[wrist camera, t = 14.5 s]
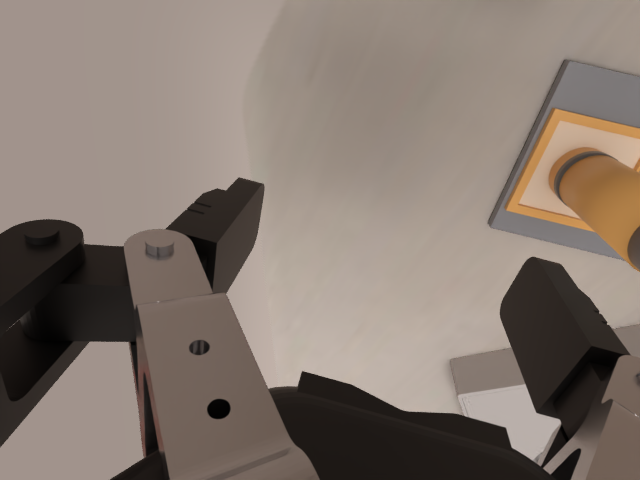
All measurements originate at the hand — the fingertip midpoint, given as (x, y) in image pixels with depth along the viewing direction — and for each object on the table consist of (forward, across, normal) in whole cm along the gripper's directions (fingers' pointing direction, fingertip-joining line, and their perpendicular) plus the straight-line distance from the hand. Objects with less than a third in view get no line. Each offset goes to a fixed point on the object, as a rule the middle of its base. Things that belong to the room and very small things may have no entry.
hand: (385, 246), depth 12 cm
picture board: (+19, -18, 0) cm, 26 cm away
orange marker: (+18, -14, +1) cm, 23 cm away
